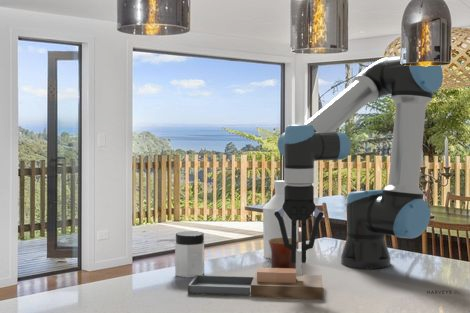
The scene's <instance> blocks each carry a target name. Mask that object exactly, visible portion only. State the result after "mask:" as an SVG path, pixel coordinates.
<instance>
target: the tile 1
mask: <svg viewBox="0 0 470 313" xmlns="http://www.w3.org/2000/svg"><path fill="white" fill-rule="evenodd" d="M256 271H257V272H256V274H257V282H276V272H277V268H271V267H258V268H257V270H256Z"/></svg>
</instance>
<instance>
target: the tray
mask: <svg viewBox="0 0 470 313" xmlns="http://www.w3.org/2000/svg"><path fill="white" fill-rule="evenodd" d="M192 278H193V279H192V280H191V281H190V282H189V284H188V285H187V295H201V296H202V295H210V296H234V297H235V296H237V297H251V283H252V281H253V278H254V276H239V275H238V276H236V275H212V274H211V275H210V274H209V275H205V274H204V275H196V276H195V277H192Z"/></svg>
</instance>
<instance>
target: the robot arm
mask: <svg viewBox="0 0 470 313" xmlns="http://www.w3.org/2000/svg"><path fill="white" fill-rule="evenodd" d="M400 55H401V54H399V55H397V54H396V55H390V56H385V57H383V58H382V57H381V58H380V59H378V60H376V61H375V62H373V63H372V64H369V66H367V67H365V69H363V70H362V71H360V72H359V73H358V74H357V75H355V76H354V77H353V78H352V82H351V84H350V85H348V87H346V88H345V89H344V90H342V91H341V92H340V93H339V94H338V95H336V96H335V97H333V99H332V100H330V101H329V102H328V103H327V104H325V105H324V106H323V107H322V108H321V109H319V110H318V111H317V112H316V113H315V114H313V115H312V116H311V117H309V118H308V119H307V120H306V121H305V122H304V123H302V124H288V125H287V126H285V129H284V132H283V133H282V134H280V135H279V137H278V140H277V150H278V151H279V153H280V154H281V155H282V156H283V157H284V178H283V179H284V180H283V181H284V182H285V183H287V185H285V192H284V204H283V206H282V208H281V209H279V210H276V211H275V213H274V215H275V216H276V218H277V219H278V221H279V225H280V230H281V234H282V238H283V242H284V246H285V248H289V249H290V250H291V261H292V263H296V276H302V275H303V272H302V269H303V268H302V267H303V266H302V265H303V264H306V263H307V251H308V250H310V249H313V248H314V245H315V240H316V237H317V234H318V229H319V224H320V221H321V219H323V217H324V215H325V214H324V212H323V211H322V210H320V209H318V208H317V207H316V204H315V201H314V199H315V198H314V195H315V192H314V190H315V189H314V186H313V184H314V183H315V181H314V179H315V176H314V175H315V171H314V170H315V162H316V161H336V162H337V161H340V160H344V159H346V158H347V157H348V156H349V155H350V152H351V145H352V144H351V143H352V142H351V139H350V138H349V136H348V135H347V134H346V133H344V132H341V131H340V132H338V131H336V130H337V129H338V128H340V127H342V125H343V124H345V123H346V122H347V121H349V119H350V118H352V117H353V116H354V115H355V114H356V113H358V111H360V110H361V109H362V108H364V107H365V105H368V103H369V104H370V103H374V102H376V101H377V100H378V99H379V98H382V97H384V96H385V97H386V96H387V95H390V97H391V100H392V101H393V102H394V104H395V112H394V120H393V121H394V123H393V131H392V132H393V133H392V142H391V154H390V165H389V173H388V174H389V175H388V183H387V185H386V186H385V187H383V188H382V189H369V190H357V191H351V192H349V193H348V195H347V203H346V239H345V243H344V246H343V249H342V252H341V254H340V263H341V264H342V265H343V266H347V267H351V268H355V269H356V268H358V269H383V268H387V267H390V266H391V255H390V252H389V249H388V248H389V247H388V244H387V243H386V240H385V239H386V237H385V236H386V235H387V236H393V237H397V238H398V239H399V238H400V239H416V238H418V237H420V236H421V235H422V234H423V232H425V231H426V229H427V227H428V225H429V223H430V220H431V209H430V207H429V204H428V202H427V201H425V200H424V192H423V191H422V190H421V189H420V186H419V185H420V177H421V176H420V174H421V164H422V154H423V142H424V133H425V132H424V131H425V122H426V121H425V120H426V110H427V109H426V108H427V105H429V104H430V103H431V102H432V101H433V95H434V94H433V93H435V92H437V91H439V89H440V88H441V86H442V85H443V82H444V73H443V67H442V65H441V64H440V66H428V67H422V66H404V65H401V64H400ZM284 211H285V213H286V214H287V215H288V217H289V218H290V219H291V220H292V236H291V243H289V240H288V236H287V232H286V227H285V223H284V219H283V216H284ZM313 213H314V214H313ZM312 215H313V216H314V221H313V224H312V228H311V233H310V236H309V240H308V243H307V220H309V218H310V217H311V216H312ZM297 220H299V221H301V242H300V243H301V246H300V247H301V248H300V249H299V248H298V249H296V221H297Z"/></svg>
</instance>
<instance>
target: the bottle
mask: <svg viewBox="0 0 470 313" xmlns="http://www.w3.org/2000/svg"><path fill="white" fill-rule="evenodd" d="M273 185H274V195H273V196H272V197H271V198H270V199H269V201H268V202H266V203H265V205H263V207H262V225H263V226H262V227H263V230H262V232H263V233H262V234H263V236H262V237H263V257H264V258H267V259H269V258H270V260H271V248H270V244H269V240H270V239H273V238H282V234H281V230H280V225H279V221H278V219H277V218H276V216H275V215H274V213H275V211H276V210H279V209H281V208H282V206H283V204H284V192H285V185H287V183H285V182H284V180H283V179H282V180H273ZM283 219H284V223H285V227H286V232H287V236H288V238H291V236H292V220H291V219H290V218H289V217H288V215H287V214H286V213H285V211H284V216H283ZM299 221H300V220H297V221H296V239H297V240H299Z"/></svg>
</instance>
